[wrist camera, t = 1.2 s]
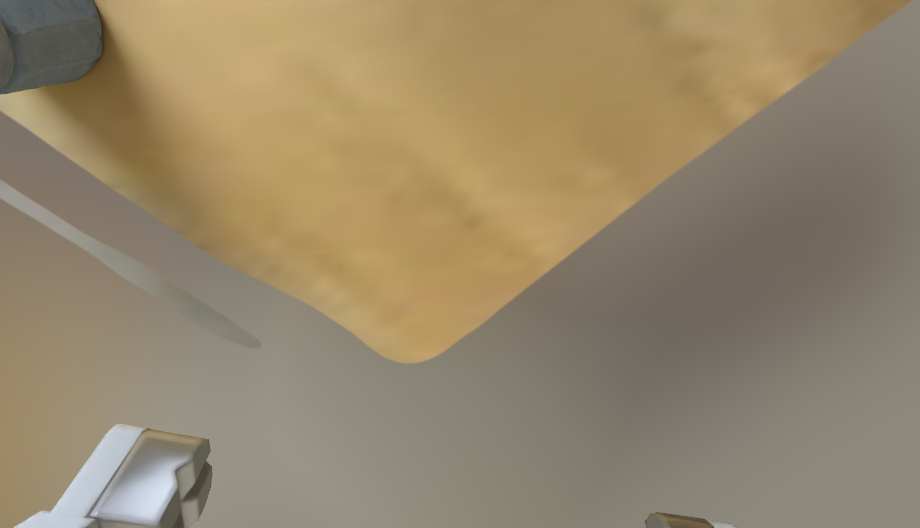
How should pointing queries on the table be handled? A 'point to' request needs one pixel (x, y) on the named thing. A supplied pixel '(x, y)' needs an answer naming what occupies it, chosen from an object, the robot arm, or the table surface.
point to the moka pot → (47, 42)
